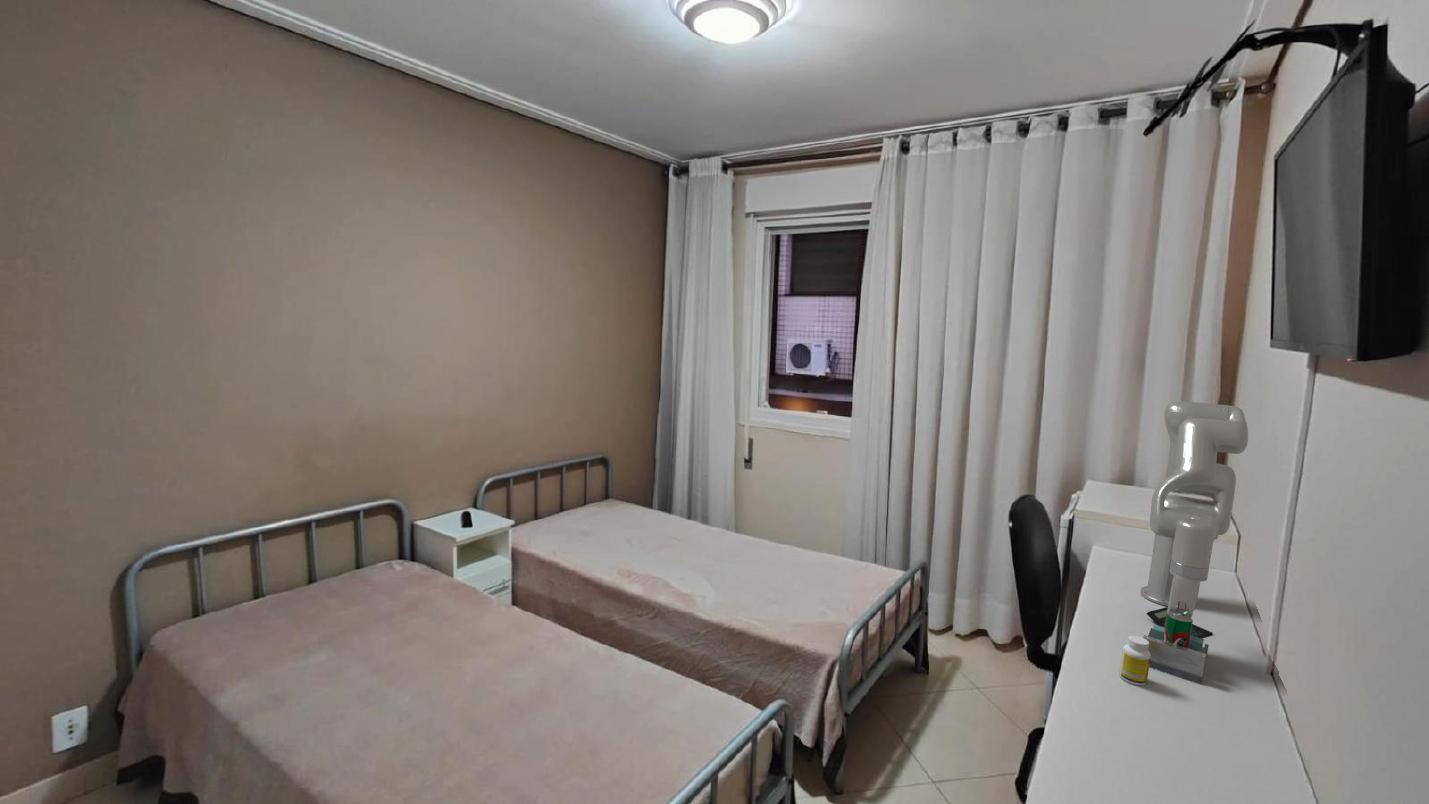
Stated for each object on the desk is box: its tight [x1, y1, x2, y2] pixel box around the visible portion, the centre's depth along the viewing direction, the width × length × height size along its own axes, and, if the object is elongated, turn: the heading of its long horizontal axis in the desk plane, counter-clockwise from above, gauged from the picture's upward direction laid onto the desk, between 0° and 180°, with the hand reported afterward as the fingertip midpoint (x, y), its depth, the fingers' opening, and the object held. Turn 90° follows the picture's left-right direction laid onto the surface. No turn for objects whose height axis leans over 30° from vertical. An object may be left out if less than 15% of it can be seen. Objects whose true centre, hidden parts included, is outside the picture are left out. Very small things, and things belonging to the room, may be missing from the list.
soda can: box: [1163, 609, 1194, 648], centre depth 153 cm, size 5×5×12 cm
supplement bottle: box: [1118, 635, 1151, 686], centre depth 146 cm, size 5×5×10 cm
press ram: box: [1151, 624, 1205, 653], centre depth 156 cm, size 3×10×5 cm, turn 49°
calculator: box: [1146, 606, 1213, 639], centre depth 173 cm, size 9×12×3 cm
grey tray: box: [1142, 627, 1210, 685], centre depth 156 cm, size 18×12×6 cm, turn 139°
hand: (1177, 639), depth 159 cm, fingers closed
